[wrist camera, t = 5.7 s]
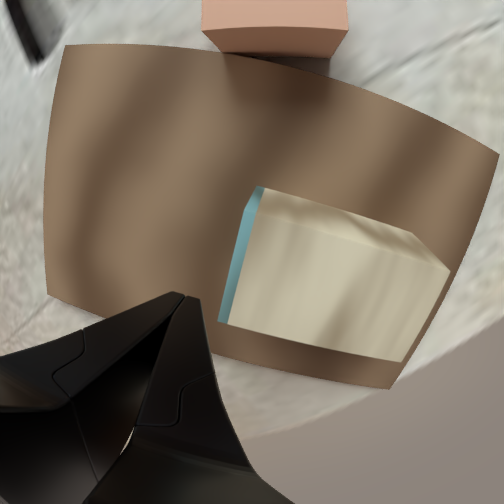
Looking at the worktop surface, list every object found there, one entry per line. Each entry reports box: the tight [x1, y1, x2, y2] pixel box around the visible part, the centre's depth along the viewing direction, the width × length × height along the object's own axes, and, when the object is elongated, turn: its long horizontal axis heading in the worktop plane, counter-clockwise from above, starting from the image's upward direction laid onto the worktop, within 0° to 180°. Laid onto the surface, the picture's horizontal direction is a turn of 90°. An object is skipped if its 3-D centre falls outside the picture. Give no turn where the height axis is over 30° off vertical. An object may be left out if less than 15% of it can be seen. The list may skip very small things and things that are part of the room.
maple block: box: [217, 186, 451, 362], centre depth 13 cm, size 4×4×8 cm
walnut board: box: [43, 44, 500, 390], centre depth 16 cm, size 24×16×1 cm, turn 76°
